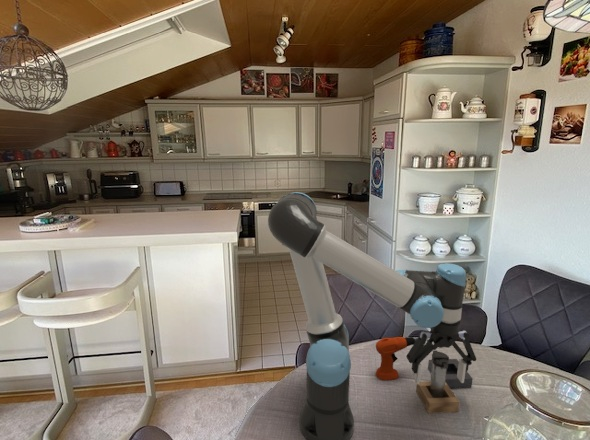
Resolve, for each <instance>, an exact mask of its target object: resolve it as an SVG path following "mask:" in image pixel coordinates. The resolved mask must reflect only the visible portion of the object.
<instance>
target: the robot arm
mask: <svg viewBox="0 0 590 440" xmlns="http://www.w3.org/2000/svg"><path fill="white" fill-rule="evenodd" d="M317 211H318V209H317V205H316V203H315V202H314V200H313V199H312V198H311V197H310V196H309V195H307V194H306V193H304V192H297V191H295V192H290V193H287V194H285V195H283V196H281V197H280V198H279V200H278V201H277V202H276V203H275V204H274V205H273V206H272V207H271V209H270V211H269V213H268V217H267V226H268V228H269V232H270V233H271V235H272V236H273V237H274V238H275V239H276V240H277V241H278V242H279V243H281V244H282V246H283V247H284V248H286V249H288V251H289V255H290V258H291V261H292V265H293V269H294V272H295V276H296V279H297V283H298V286H299V291H300V293H301V294H300V295H301V297H302V301H303V305H304V308H305V313H306V316H307V321H306V323H305V331H306V334H307V338H308V343H309V348H308V350H307V354H306V358H305V366H306V367H305V368H306V389H305V390H306V392H305V393H306V394H305V397H306V398H305V400H304V404H303V406H302V408H301V410H300V414H299V428H300V431H301V434H302V435H303V436H304V438H305V439H306V440H350V439H351V438H352V436H353V433H354V428H355V427H354V426H355V419H354V414H353V413H352V409H351V406H350V403H349V397H350V375H351V367H352V361H351V355H350V347H349V344H350V336H349V331H348V328H347V327H346V325H345V324H344V320H343V316H341V314H339V313H337V312H336V309H335V304H334V301H333V298H332V294H331V289H330V285H329V282H328V278H327V274H326V270H325V266H326V267H328V268H330V269H331V270H333V271H335V272H337V273H339V274H340V275H342V276H344V277H346V278H347V279H348V280H350V281H352V282H354V283H355V284H357V285H359V286H361V287H363V288H364V289H365V290H367V291H369V292H371V293H373V294H374V295H376V296H378V297H380V298H382V299H383V300H385V301H387V302H388V303H390V304H392V305H394V306H395V307H397V308H399V309H400V310H402V311H403V312H405V313H407V314H408V315H410V318H411V319H412V320H413V322H414V323H415V324H416V325H417V326H419V327H421V328H424V329H430V331H429V332H427V331H426V332H425V331H424V330H421V329H420V331H419V333H418V336H417V337H416V338H417V340H416V342H415V343H414V345H411V346H412V347H410V349H409V351H408V353H407V355H405V357H406V359H407V360H408V363H410V364H411V370H412V373H413V380H414V382H415V384H416V385H417V384H420V382H421V373H422V364H421V362H423V360H425V359H426V358H427V357H428V356H429V355H430V354H431V353H433V351H437V348H439V349H442V348H450V347H453V348H454V350H455V351H456V353H458V355H459V356H461V357H459V358H458V361H459V364H458V371H457V378H458V379H459V380H460V382H461V383H464V378H465V372H468V371H469V366H471V365H472V362H476V361H477V357H476V355H475V351H474V349H473V347H472V345H471V343H470V335H469V333H468V332H467V331H466V330H465V329H463V328H462V329H461V330H460V327H461V326H460V325H461V319H462V312H463V311H462V310H463V303H464V297H465V289H466V285H467V284H466V282H467V280H466V279H467V277H466V276H467V272H466V270H465V268H463V267H462V266H460V265H458V264H454V263H449V262H447V263H440V264H438V265H437V268H436V270H435V271H433V270H432V271H427V270H426V271H425V270H413V269H412V270H411V269H409V270H408V269H396V270H395V269H393V268H391V267H390V266H388V265H386V264H384V263H383V262H381V261H379V260H377V259H376V258H374V257H372V256H371V255H370V254H367V253H366V252H364V251H362V250H361V249H359V248H357V247H355V246H354V245H352V244H350V243H349V242H348V241H346V240H343V239H342V238H340V237H338V236H337V235H335V234H333V233H332V232H330V231H328V230H327V227H326V224H324V223H322V222H321V221H319V220H318V218H317V215H318V213H317ZM324 265H325V266H324ZM459 338H460V339H461V341H462V343H463V347H464V349H465V351H466V354H465V352H464V351H463V350H462V349H461V347H460V346H459V345H458V344H457V342H456V341H457V340H458V339H459Z"/></svg>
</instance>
